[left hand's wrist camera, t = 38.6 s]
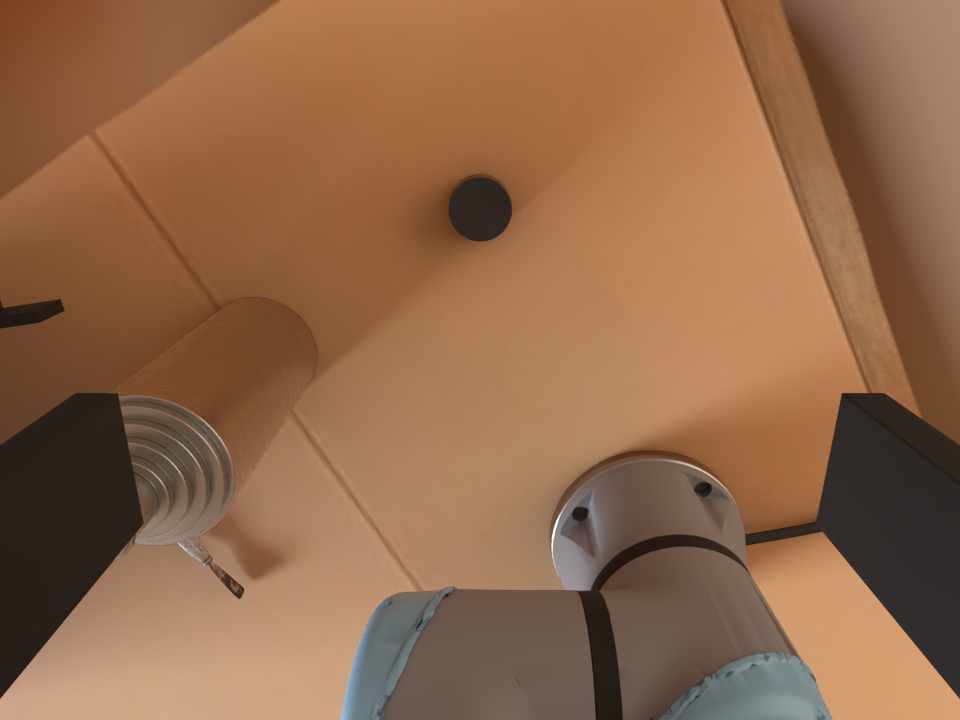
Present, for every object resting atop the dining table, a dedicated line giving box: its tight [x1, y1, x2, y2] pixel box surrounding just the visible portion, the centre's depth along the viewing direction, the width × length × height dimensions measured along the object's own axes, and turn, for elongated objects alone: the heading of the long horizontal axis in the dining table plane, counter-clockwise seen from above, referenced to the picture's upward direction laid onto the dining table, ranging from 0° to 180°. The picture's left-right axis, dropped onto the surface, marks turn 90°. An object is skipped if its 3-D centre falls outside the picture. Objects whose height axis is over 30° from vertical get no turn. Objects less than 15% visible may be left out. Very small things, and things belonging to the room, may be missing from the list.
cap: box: [449, 174, 512, 241], centre depth 45 cm, size 4×4×2 cm
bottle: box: [110, 298, 317, 561], centre depth 39 cm, size 8×8×23 cm
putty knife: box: [178, 538, 244, 599], centre depth 55 cm, size 1×8×2 cm, turn 38°
